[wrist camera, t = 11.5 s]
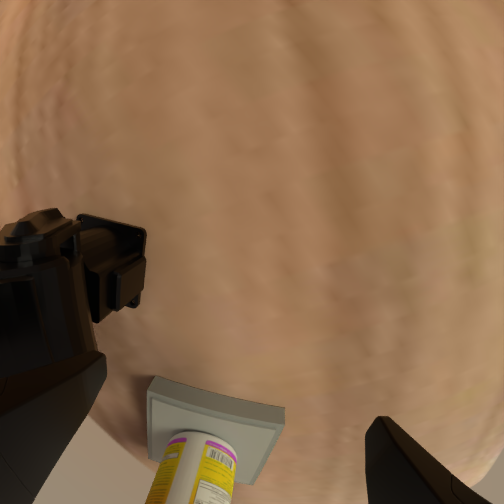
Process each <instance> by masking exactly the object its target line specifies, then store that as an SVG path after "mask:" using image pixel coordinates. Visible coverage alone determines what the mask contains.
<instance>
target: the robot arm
mask: <svg viewBox="0 0 504 504" xmlns="http://www.w3.org/2000/svg"><path fill="white" fill-rule="evenodd" d="M82 218H83V222H82V220H81V219H82ZM138 232H140V233H141V238H140V237H139V236H138ZM146 237H147V233H146V230H145V229H144V228H141V227H137V226H133V225H129V224H125V223H121V222H117V221H113V220H109V219H104V218H100V217H96V216H92V215H88V214H79V215H78V216H77V219H76V221H74V220H72V219H66V218H65V217H63V216H62V214H61V213H60V211H59V210H58V208H50V209H45V210H40V211H36V212H32V213H30V214H28V215H27V216H25V217H24V218H22V219H19V220H18V221H17V222H15V223H10V224H6V225H5V226H4V227H3V228H2V230H1V231H0V504H32V503H33V502H34V500H35V498H36V496H37V494H38V493H39V491H40V489H41V487H42V486H43V484H44V483H45V481H46V479H47V478H48V476H49V474H50V472H51V471H52V469H53V468H54V466H55V464H56V463H57V461H58V460H59V458H60V456H61V455H62V453H63V452H64V450H65V448H66V447H67V445H68V444H69V442H70V441H71V439H72V437H73V436H74V434H75V433H76V431H77V430H78V428H79V427H80V425H81V424H82V422H83V421H84V419H85V418H86V416H87V414H88V413H89V411H90V409H91V407H92V405H93V403H94V401H95V399H96V397H97V395H98V393H99V391H100V389H101V387H102V385H103V383H104V381H105V379H106V377H107V365H106V356H105V354H103V353H101V352H99V351H98V348H97V344H96V339H95V335H94V330H93V324H92V322H94V323H99V322H100V321H102V320H103V319H104V318H105V317H106V316H107V315H108V314H110V313H111V312H112V311H113V310H114V311H116V312H117V311H119V310H121V309H122V308H123V307H124V306H127V307H130V308H136V307H137V306H138V305H139V304H140V295H141V291H142V290H143V289H144V278H145V268H146V258H145V256H144V253H145V245H146ZM132 300H134V301H135V304H134V303H133V302H132ZM365 474H366V484H367V494H368V504H492V503H490V502H489V501H487V500H486V499H484V498H483V497H481V496H480V495H479V494H477V493H476V492H474V491H473V490H471V489H470V488H469V487H467V486H466V485H465V484H464V483H463V482H461V481H460V480H459V479H458V478H457V477H456V476H454V475H453V474H451V472H450V471H449V470H447V469H446V468H445V467H444V466H443V465H442V464H441V463H440V462H438V461H437V460H436V459H435V458H434V457H433V456H432V455H431V454H430V453H428V452H427V451H426V450H425V449H424V448H423V447H422V446H421V445H420V444H418V443H417V442H416V441H415V440H414V439H413V438H412V437H411V436H410V435H409V434H407V433H406V432H405V431H404V430H403V429H402V428H401V427H400V426H399V425H398V424H397V423H395V422H394V421H393V420H392V419H391V418H390V417H388V416H378V417H376V418H375V420H374V421H373V423H372V424H371V426H370V427H369V429H368V430H367V432H366V435H365Z"/></svg>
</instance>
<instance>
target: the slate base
mask: <svg viewBox="0 0 504 504" xmlns="http://www.w3.org/2000/svg"><path fill="white" fill-rule="evenodd" d="M284 426H285V408H282V407H276V406H271V405H265V404H260V403H255V402H250V401H246V400H241V399H237V398H232V397H228V396H224V395H220V394H216V393H212V392H208V391H205V390H201V389H197V388H194V387H190V386H187V385H184V384H180V383H177V382H174V381H171V380H167V379H164V378H161V377H158V376H155V377H154V379H153V381H152V382H151V384H150V386H149V387H148V389H147V440H148V459H151V460H154V461H156V462H159V463H161V460H162V458H163V455H164V452H165V450H166V447H167V445H168V443H169V441H170V439H171V438H172V437H173V436H175V435H176V434H179V433H182V432H201V433H206V434H210V435H213V436H216V437H218V438H220V439H222V440H224V441H225V442H227V443H228V444H229V445H230V446H231V447H232V448H233V449H234V451H235V452H236V455H237V465H236V471H235V478H234V482H237V483H242V484H248V485H254V483H255V481H256V479H257V478H258V476H259V474H260V472H261V470H262V468H263V467H264V465H265V463H266V461H267V459H268V457H269V455H270V453H271V452H272V450H273V448H274V446H275V444H276V442H277V440H278V438H279V436H280V434H281V432H282V430H283V428H284Z"/></svg>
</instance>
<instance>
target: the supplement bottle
mask: <svg viewBox="0 0 504 504" xmlns="http://www.w3.org/2000/svg"><path fill="white" fill-rule="evenodd" d="M236 465H237V455H236V452H235V451H234V449H233V448H232V447H231V446H230V445H229V444H228V443H227V442H225V441H224V440H222V439H220V438H218V437H216V436H213V435H210V434H206V433H201V432H182V433H179V434H176V435H175V436H173V437H172V438H171V439H170V441H169V443H168V445H167V447H166V450H165V452H164V455H163V458H162V460H161V463H160V465H159V468H158V471H157V473H156V476H155V479H154V481H153V484H152V486H151V489H150V492H149V494H148V497H147V499H146V502H145V504H230V503H231V497H232V491H233V484H234V478H235V471H236Z"/></svg>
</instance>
